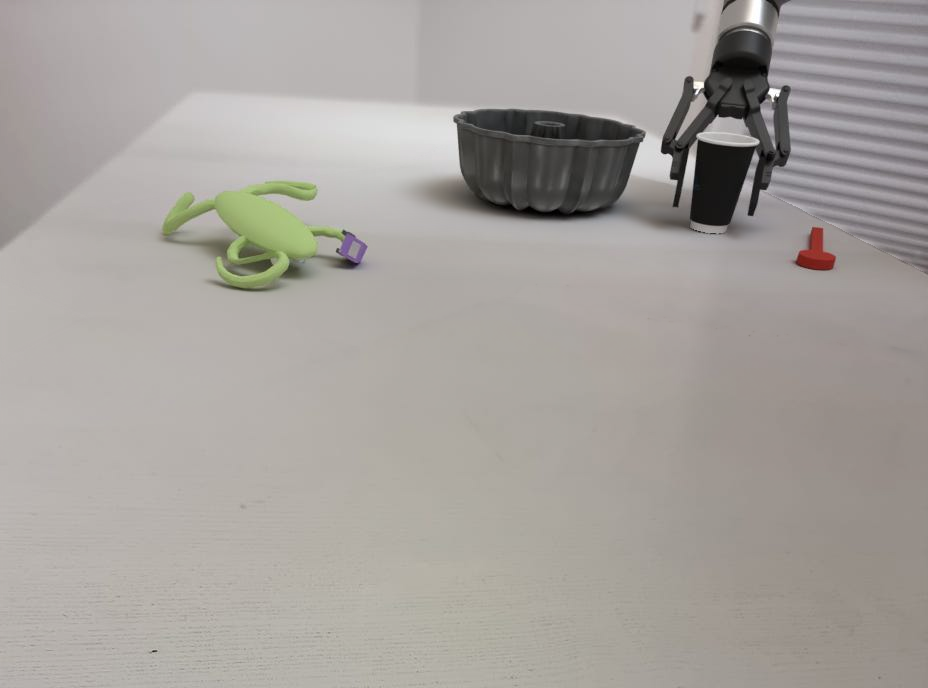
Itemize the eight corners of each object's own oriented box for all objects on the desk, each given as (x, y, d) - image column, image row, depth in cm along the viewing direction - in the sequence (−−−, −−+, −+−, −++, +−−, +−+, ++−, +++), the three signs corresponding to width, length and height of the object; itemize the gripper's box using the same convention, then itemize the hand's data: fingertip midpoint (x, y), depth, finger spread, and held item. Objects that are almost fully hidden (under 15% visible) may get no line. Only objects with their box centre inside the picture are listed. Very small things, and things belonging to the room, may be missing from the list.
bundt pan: (539, 174, 145) (546, 102, 139) (671, 210, 130) (686, 132, 124) (411, 191, 131) (413, 111, 125) (543, 235, 116) (553, 147, 110)
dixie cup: (750, 234, 122) (773, 141, 115) (707, 239, 119) (728, 144, 112) (708, 219, 127) (727, 130, 121) (666, 224, 124) (683, 132, 117)
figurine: (300, 217, 116) (298, 168, 113) (396, 277, 98) (397, 221, 95) (155, 228, 108) (148, 176, 105) (231, 295, 90) (225, 235, 87)
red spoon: (832, 237, 123) (835, 227, 123) (833, 272, 110) (836, 261, 109) (799, 232, 124) (801, 223, 124) (795, 266, 111) (798, 256, 110)
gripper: (819, 78, 123) (793, 232, 120) (658, 63, 126) (628, 213, 124) (836, 34, 116) (808, 196, 113) (663, 19, 119) (632, 177, 116)
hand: (714, 205), depth 118 cm, fingers open, 9 cm apart
